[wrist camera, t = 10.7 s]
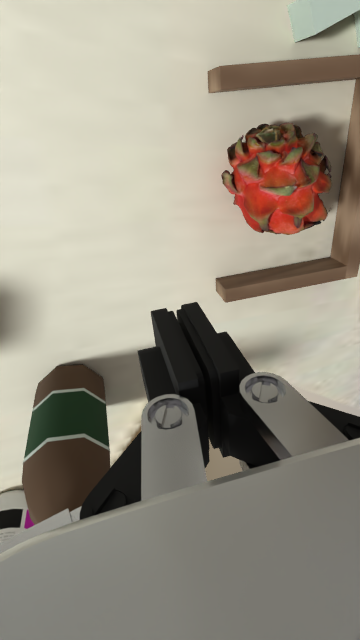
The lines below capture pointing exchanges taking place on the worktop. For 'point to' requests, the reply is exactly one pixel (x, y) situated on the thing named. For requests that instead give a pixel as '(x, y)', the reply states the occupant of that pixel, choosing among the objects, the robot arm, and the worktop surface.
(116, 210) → the worktop surface
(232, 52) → the worktop surface
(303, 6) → the t block
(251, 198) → the dragon fruit
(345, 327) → the worktop surface
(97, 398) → the beer bottle
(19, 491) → the supplement can
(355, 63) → the bay
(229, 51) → the worktop surface
